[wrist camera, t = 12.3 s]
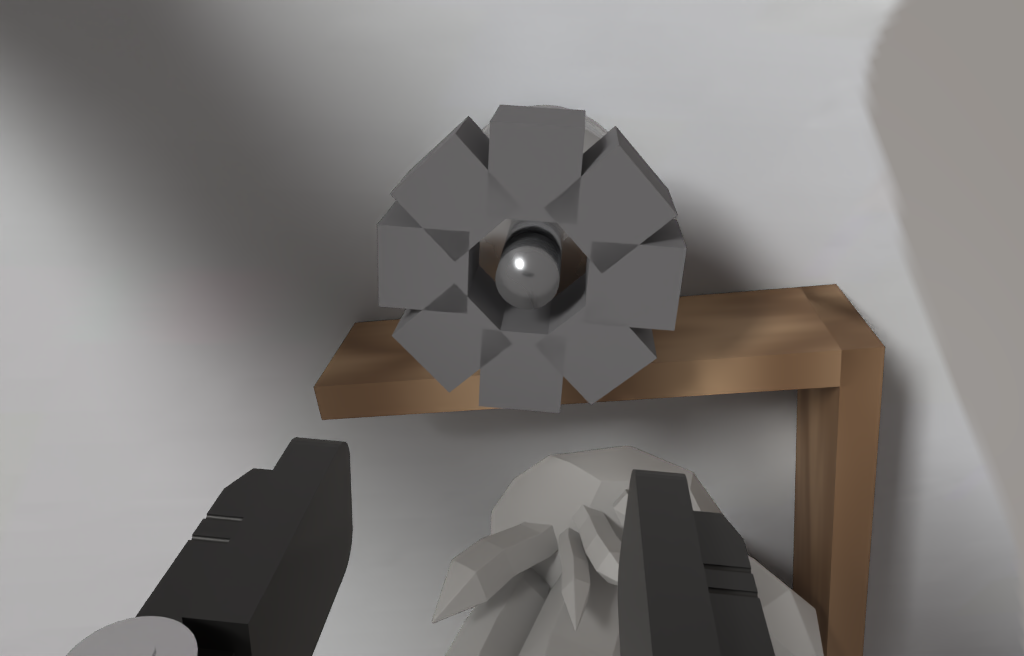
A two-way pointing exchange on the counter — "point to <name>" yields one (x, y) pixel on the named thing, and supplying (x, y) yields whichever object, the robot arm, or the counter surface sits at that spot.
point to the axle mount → (534, 250)
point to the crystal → (577, 565)
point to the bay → (708, 371)
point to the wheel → (535, 197)
